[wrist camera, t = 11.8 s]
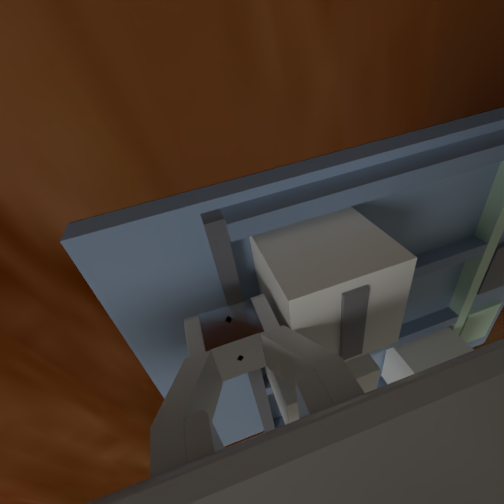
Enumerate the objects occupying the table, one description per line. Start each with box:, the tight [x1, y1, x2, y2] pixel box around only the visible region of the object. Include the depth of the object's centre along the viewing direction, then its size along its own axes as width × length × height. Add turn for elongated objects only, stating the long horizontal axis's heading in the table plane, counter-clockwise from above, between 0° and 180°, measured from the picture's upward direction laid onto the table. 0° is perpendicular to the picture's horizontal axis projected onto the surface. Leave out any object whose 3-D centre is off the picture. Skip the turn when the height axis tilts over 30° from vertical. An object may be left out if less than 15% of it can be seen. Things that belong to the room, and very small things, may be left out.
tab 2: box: [381, 327, 473, 384], centre depth 19 cm, size 4×4×4 cm
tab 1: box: [249, 207, 417, 362], centre depth 11 cm, size 4×4×4 cm
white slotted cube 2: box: [265, 353, 381, 425], centre depth 14 cm, size 4×4×4 cm
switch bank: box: [60, 107, 504, 446], centre depth 16 cm, size 23×18×2 cm
